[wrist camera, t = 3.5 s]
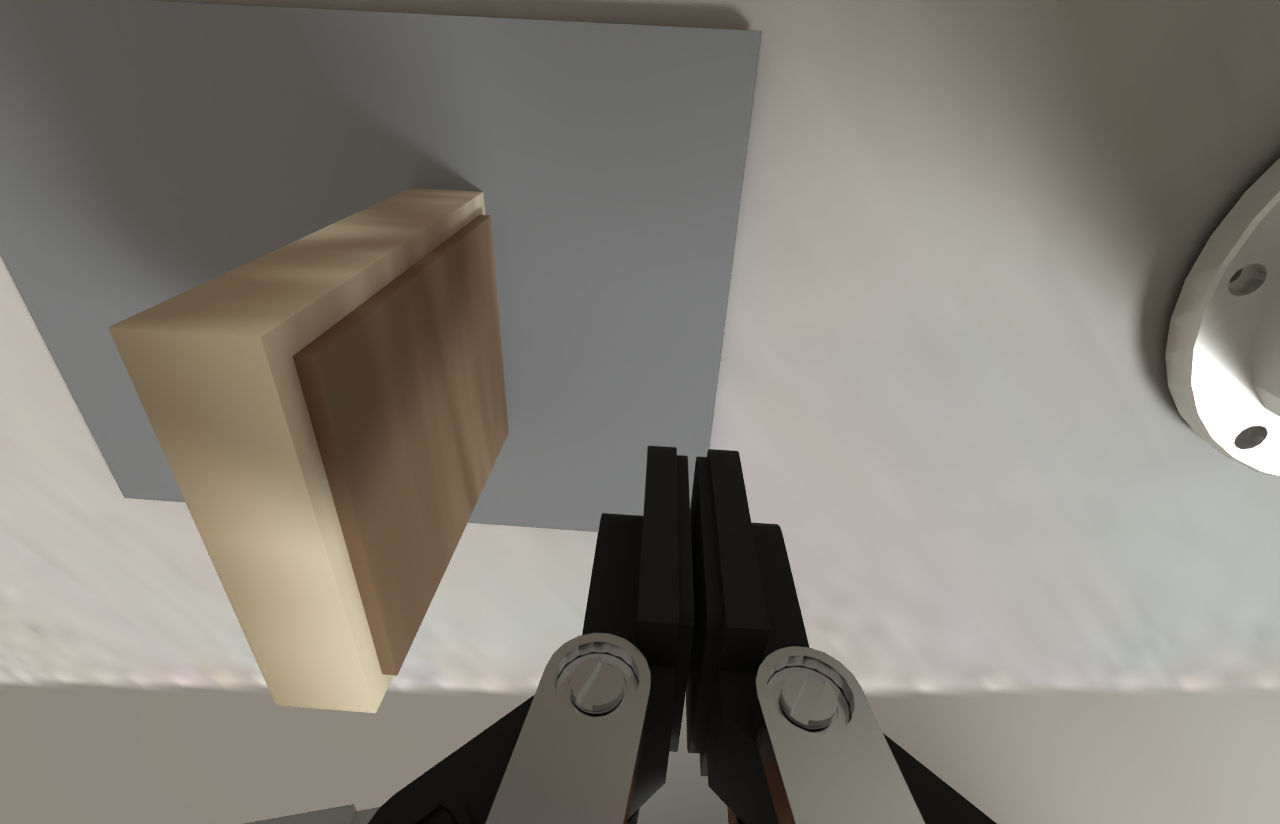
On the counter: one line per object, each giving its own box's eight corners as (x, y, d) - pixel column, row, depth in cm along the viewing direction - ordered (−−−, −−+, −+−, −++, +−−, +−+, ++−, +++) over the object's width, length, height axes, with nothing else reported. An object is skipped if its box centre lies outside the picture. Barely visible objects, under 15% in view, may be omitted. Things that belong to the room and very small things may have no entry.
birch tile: (494, 192, 16) (283, 339, 8) (513, 437, 20) (391, 714, 12) (411, 187, 16) (107, 327, 8) (446, 432, 20) (276, 704, 12)
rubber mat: (759, 31, 14) (761, 31, 14) (697, 531, 22) (697, 539, 22) (-119, -13, 15) (-138, -15, 14) (132, 491, 23) (124, 498, 23)
